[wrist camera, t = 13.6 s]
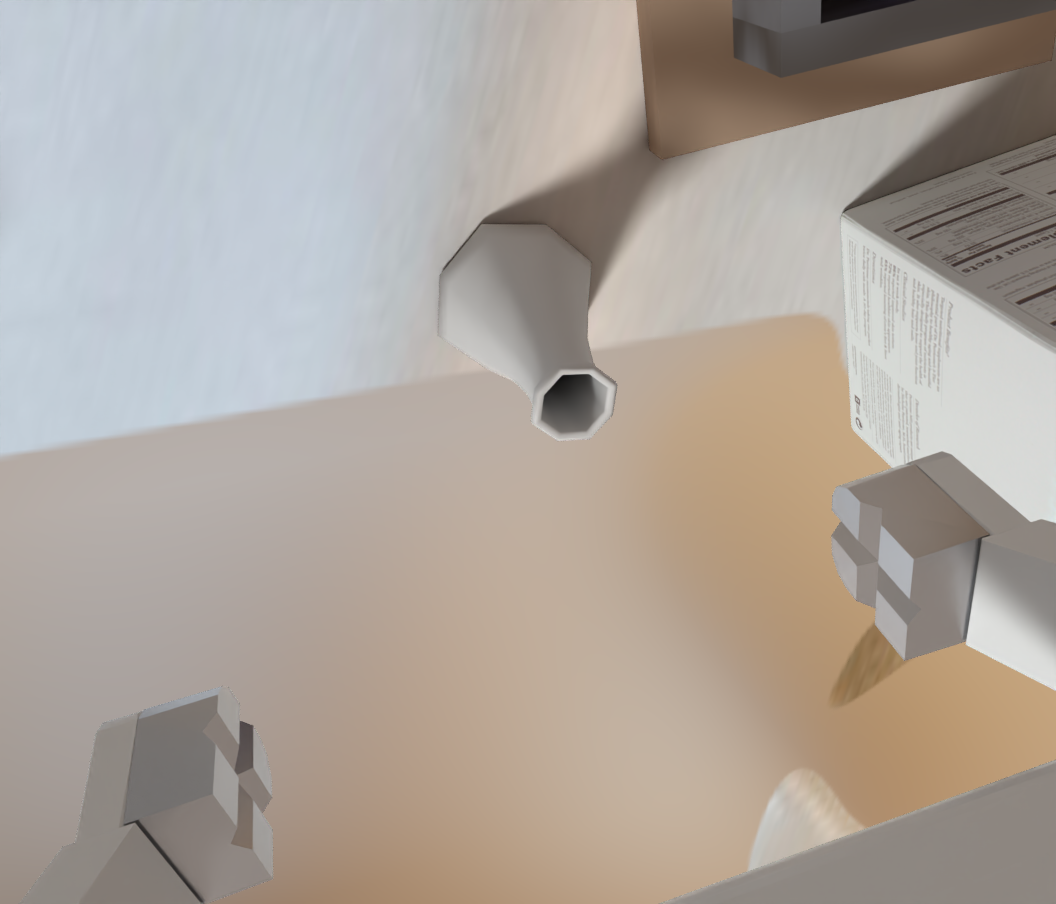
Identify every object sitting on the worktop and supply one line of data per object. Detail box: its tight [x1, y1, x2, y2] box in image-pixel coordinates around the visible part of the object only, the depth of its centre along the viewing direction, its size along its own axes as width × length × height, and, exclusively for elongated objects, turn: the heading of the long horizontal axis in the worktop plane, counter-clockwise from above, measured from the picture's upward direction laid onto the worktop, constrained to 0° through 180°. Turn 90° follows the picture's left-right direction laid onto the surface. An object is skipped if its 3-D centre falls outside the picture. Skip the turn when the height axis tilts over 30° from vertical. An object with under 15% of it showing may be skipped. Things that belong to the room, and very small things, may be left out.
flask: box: [438, 224, 617, 441], centre depth 36 cm, size 7×7×10 cm
